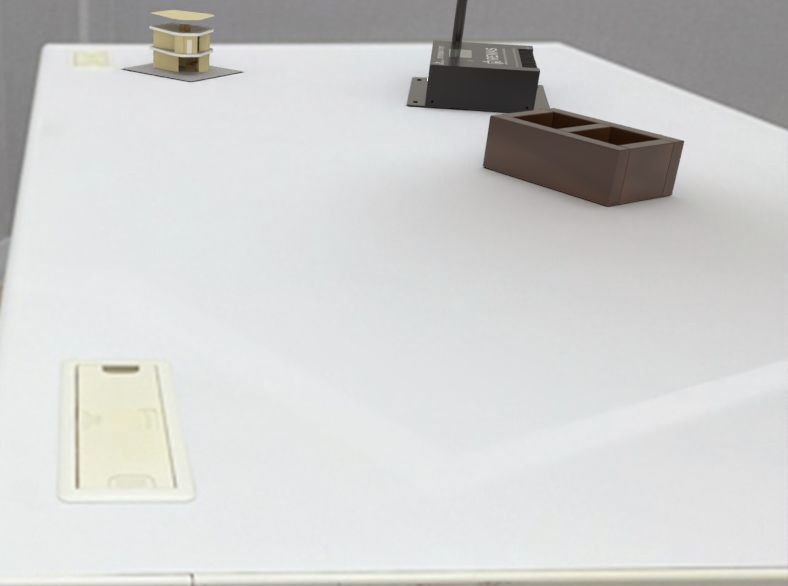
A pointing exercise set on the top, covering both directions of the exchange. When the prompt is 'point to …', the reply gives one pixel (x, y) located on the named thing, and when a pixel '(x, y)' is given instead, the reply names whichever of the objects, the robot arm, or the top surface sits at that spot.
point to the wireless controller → (479, 75)
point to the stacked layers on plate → (182, 49)
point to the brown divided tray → (583, 155)
